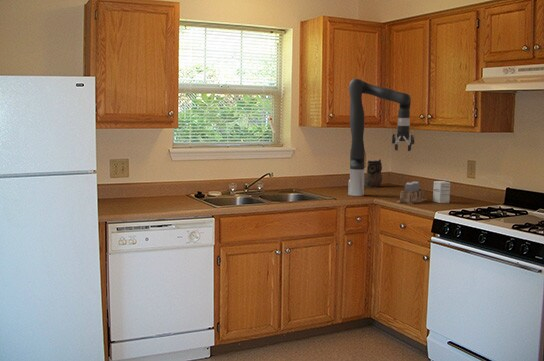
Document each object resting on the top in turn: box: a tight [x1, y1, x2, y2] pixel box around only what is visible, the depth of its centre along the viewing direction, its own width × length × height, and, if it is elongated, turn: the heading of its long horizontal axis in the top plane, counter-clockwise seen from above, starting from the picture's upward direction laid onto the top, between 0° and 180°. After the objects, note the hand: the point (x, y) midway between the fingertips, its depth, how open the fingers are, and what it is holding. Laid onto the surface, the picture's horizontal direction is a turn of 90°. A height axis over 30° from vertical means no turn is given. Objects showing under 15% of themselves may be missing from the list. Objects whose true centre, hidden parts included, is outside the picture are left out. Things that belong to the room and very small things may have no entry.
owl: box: [364, 159, 383, 189], centre depth 465 cm, size 13×13×20 cm
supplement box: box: [432, 180, 451, 204], centre depth 391 cm, size 7×7×13 cm
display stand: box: [396, 188, 427, 205], centre depth 393 cm, size 10×20×7 cm, turn 143°
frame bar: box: [404, 181, 421, 193], centre depth 392 cm, size 4×14×6 cm, turn 144°
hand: (402, 150), depth 406 cm, fingers open, 8 cm apart
